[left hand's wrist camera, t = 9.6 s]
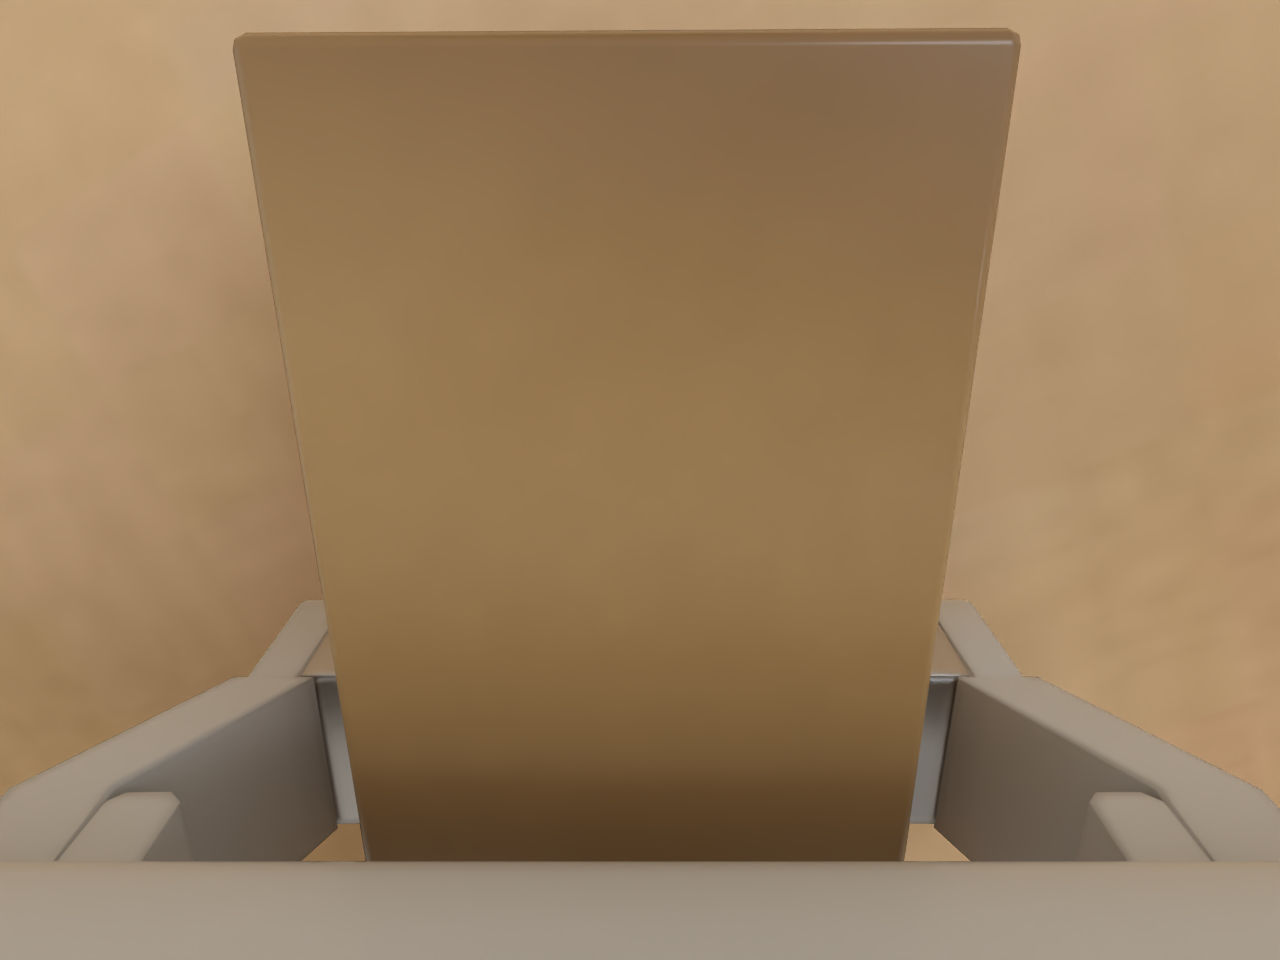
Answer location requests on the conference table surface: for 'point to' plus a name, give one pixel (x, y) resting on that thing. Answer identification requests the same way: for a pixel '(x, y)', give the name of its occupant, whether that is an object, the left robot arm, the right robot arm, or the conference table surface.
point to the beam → (630, 419)
